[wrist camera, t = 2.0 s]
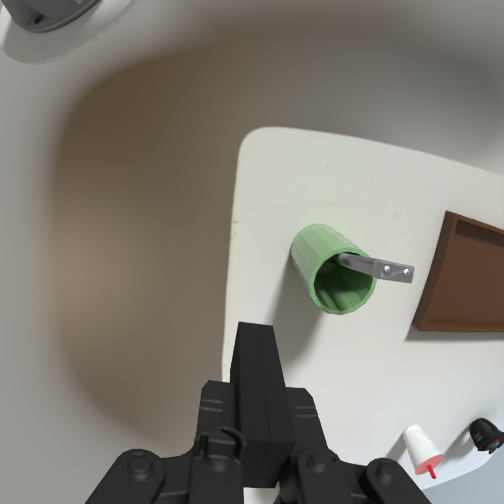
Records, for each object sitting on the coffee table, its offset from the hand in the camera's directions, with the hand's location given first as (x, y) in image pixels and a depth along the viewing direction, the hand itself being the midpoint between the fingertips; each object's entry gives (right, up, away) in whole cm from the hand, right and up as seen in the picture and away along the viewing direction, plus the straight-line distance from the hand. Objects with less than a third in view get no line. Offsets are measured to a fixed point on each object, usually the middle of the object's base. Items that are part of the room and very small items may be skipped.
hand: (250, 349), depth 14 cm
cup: (+28, -28, +30) cm, 50 cm away
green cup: (+7, +4, +19) cm, 21 cm away
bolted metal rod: (+8, +4, +11) cm, 14 cm away
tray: (+43, -1, +23) cm, 48 cm away
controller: (+50, -33, +33) cm, 68 cm away
